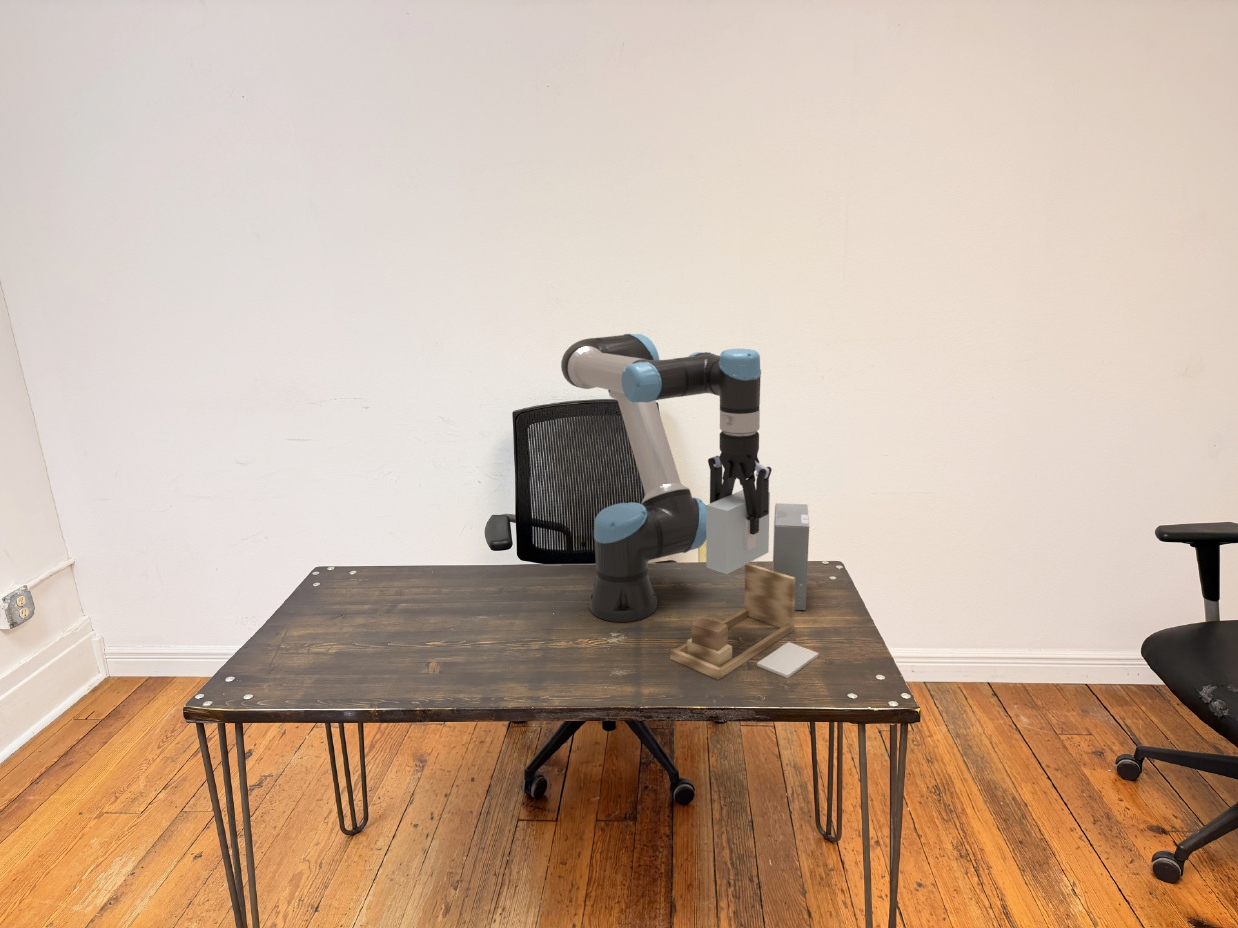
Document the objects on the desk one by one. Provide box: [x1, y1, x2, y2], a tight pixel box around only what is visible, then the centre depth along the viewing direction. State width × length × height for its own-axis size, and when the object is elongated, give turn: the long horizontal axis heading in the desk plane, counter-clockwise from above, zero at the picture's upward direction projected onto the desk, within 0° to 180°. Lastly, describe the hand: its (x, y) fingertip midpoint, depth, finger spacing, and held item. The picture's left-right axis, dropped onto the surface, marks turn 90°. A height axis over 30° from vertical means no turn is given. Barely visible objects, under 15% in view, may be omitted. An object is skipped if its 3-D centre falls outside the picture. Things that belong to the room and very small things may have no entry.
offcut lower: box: [686, 637, 733, 668], centre depth 161 cm, size 8×4×4 cm, turn 45°
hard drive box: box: [772, 502, 810, 611], centre depth 186 cm, size 16×8×20 cm, turn 168°
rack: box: [669, 562, 796, 681], centre depth 166 cm, size 12×26×12 cm, turn 136°
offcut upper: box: [691, 616, 729, 651], centre depth 160 cm, size 6×4×4 cm, turn 54°
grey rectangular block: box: [705, 489, 771, 575], centre depth 162 cm, size 5×14×13 cm, turn 136°
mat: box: [756, 641, 820, 679], centre depth 161 cm, size 7×11×1 cm, turn 136°
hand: (738, 544), depth 163 cm, fingers closed on grey rectangular block, 5 cm apart
